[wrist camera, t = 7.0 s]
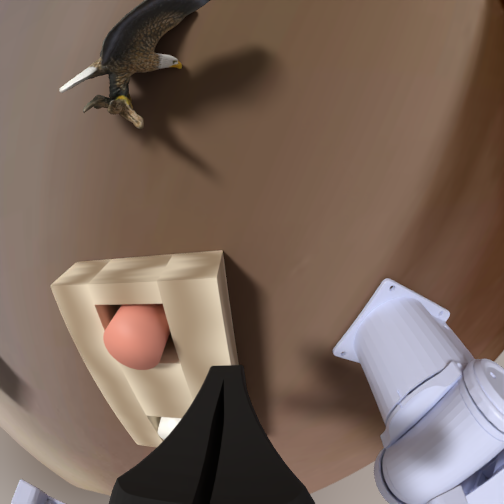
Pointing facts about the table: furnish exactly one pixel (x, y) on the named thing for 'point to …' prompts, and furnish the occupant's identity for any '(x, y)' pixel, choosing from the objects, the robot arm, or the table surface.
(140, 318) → the pink rounded plug
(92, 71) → the eagle figurine
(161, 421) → the ivory plunger
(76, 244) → the table surface
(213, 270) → the press housing
